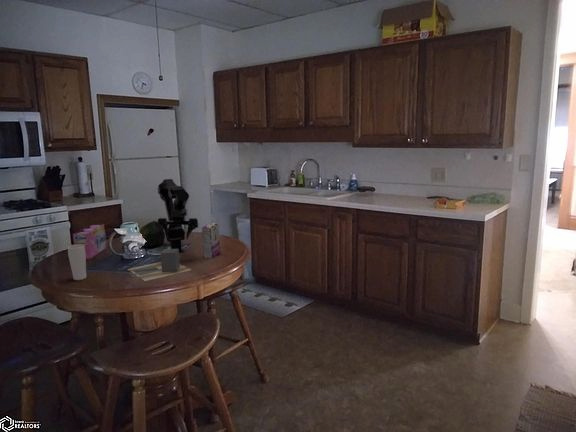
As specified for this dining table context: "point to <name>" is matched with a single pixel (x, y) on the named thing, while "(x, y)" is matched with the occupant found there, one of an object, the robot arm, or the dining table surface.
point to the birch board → (154, 271)
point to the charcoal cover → (170, 260)
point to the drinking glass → (77, 261)
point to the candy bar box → (211, 240)
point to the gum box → (91, 239)
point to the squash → (152, 234)
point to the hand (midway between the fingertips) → (177, 239)
